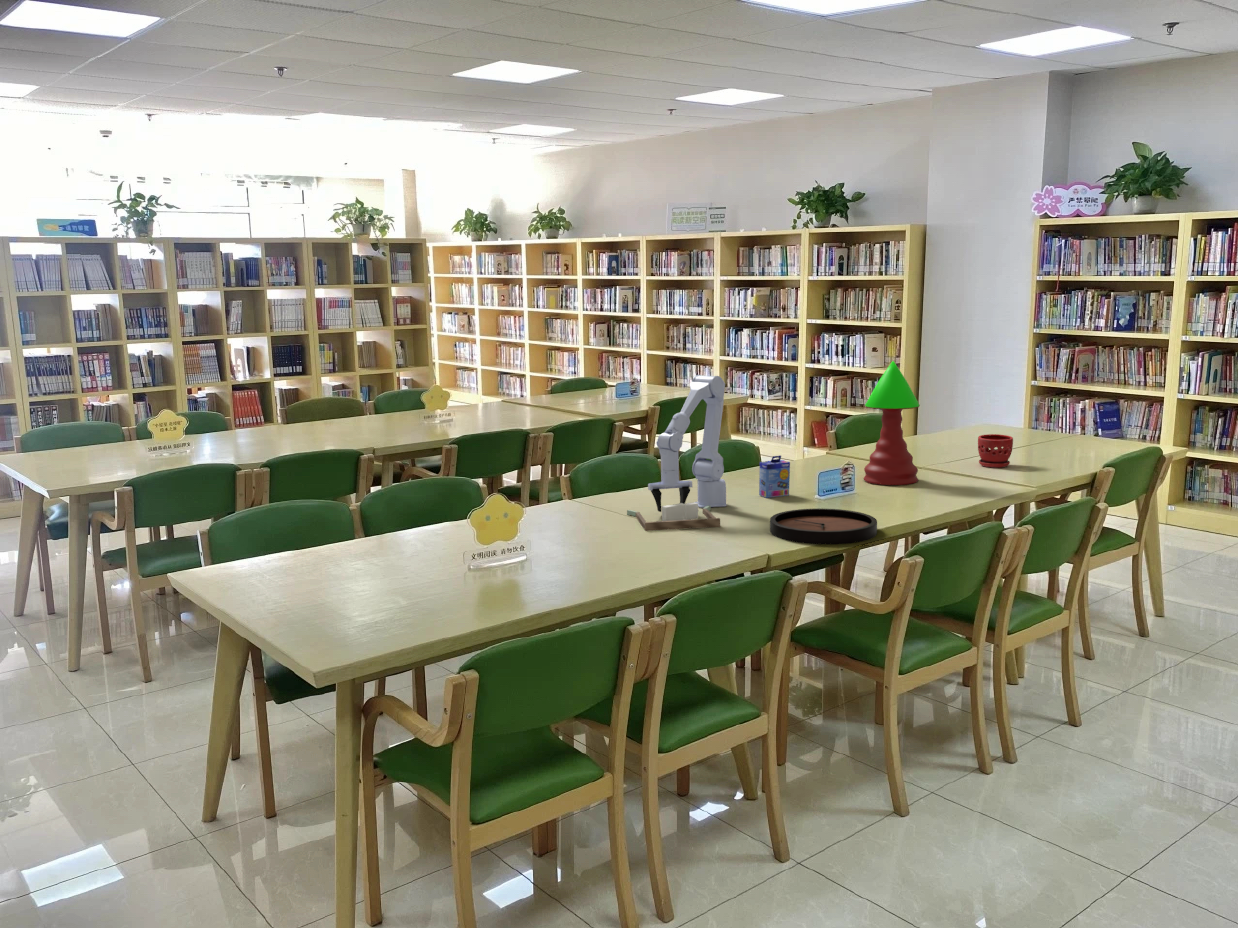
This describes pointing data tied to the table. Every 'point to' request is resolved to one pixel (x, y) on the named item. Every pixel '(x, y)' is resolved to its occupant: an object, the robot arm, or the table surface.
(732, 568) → the table surface
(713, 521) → the napkin dock
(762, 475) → the ink cartridge box
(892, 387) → the table lamp
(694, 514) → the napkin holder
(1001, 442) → the plant pot
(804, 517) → the wall clock
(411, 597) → the table surface
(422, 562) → the table surface
